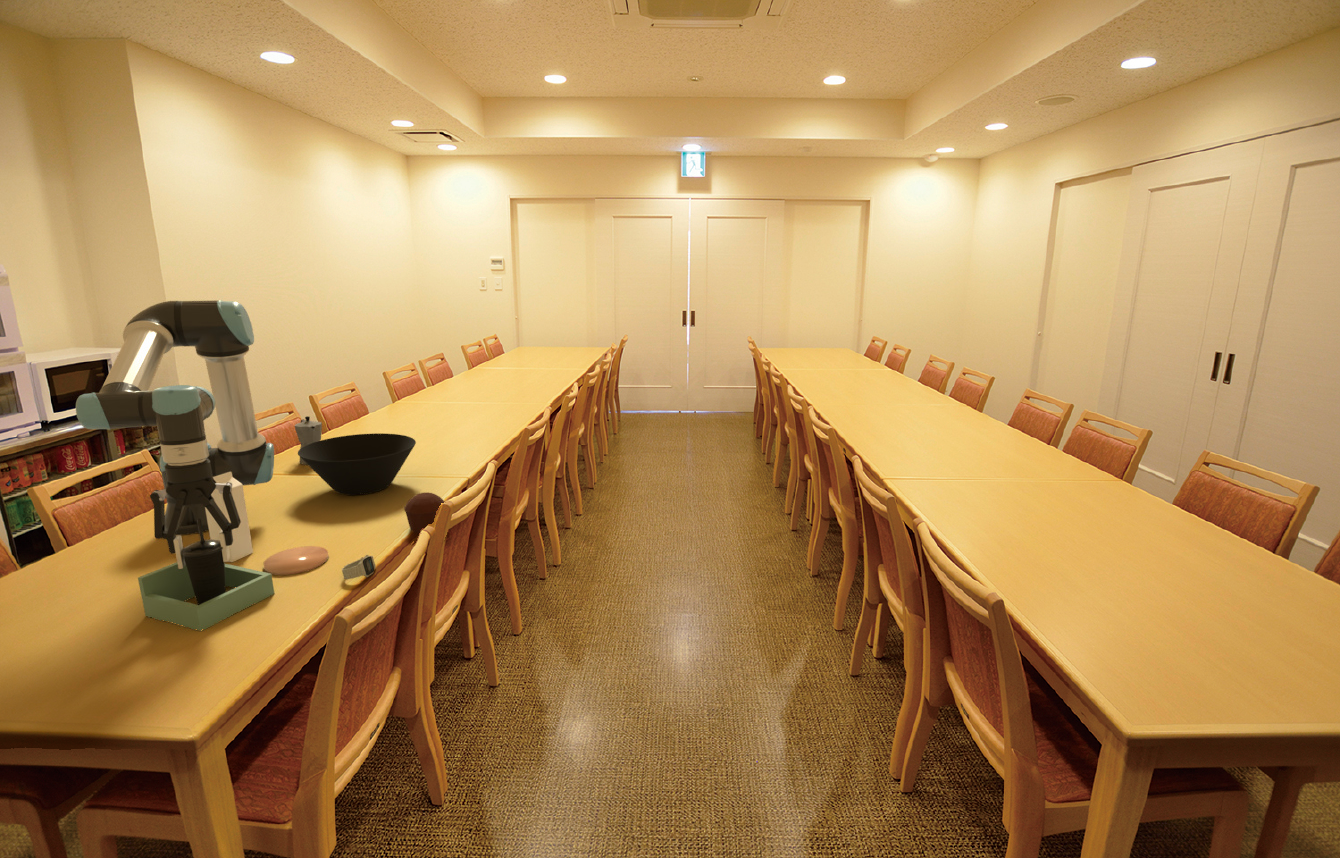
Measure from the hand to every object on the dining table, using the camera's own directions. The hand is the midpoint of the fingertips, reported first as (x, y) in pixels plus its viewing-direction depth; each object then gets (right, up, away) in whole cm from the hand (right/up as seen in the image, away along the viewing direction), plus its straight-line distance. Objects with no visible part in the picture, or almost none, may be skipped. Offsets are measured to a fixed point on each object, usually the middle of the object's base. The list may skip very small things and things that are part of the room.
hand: (204, 562), depth 133 cm
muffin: (+30, 0, +46) cm, 55 cm away
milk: (-12, -4, +26) cm, 29 cm away
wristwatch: (+24, -7, +18) cm, 31 cm away
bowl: (-5, +8, +78) cm, 78 cm away
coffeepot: (-40, +16, +108) cm, 116 cm away
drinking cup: (0, -10, +2) cm, 10 cm away
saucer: (+6, -5, +23) cm, 24 cm away
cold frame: (0, -10, +2) cm, 10 cm away
